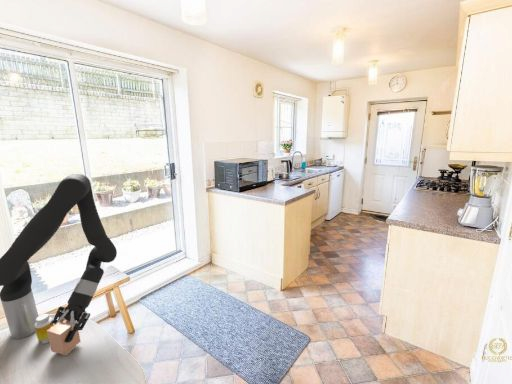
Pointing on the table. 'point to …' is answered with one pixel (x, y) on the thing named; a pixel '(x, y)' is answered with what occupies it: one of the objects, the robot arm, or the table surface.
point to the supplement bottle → (43, 327)
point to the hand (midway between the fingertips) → (59, 339)
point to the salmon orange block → (62, 337)
